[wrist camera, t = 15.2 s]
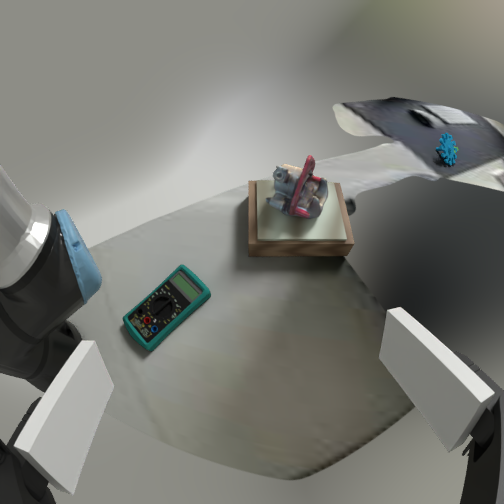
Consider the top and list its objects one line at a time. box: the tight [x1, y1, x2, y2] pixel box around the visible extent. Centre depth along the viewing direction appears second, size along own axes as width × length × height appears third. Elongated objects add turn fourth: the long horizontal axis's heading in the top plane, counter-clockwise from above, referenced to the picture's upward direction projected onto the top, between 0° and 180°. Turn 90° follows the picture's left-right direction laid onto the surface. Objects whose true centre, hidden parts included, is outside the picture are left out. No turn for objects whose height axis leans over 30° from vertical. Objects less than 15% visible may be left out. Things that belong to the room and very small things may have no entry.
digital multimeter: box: [123, 265, 211, 351], centre depth 43 cm, size 7×15×3 cm, turn 137°
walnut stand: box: [248, 180, 354, 257], centre depth 50 cm, size 18×14×5 cm
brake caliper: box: [266, 155, 328, 219], centre depth 45 cm, size 11×11×12 cm
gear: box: [436, 133, 458, 165], centre depth 64 cm, size 11×6×10 cm
